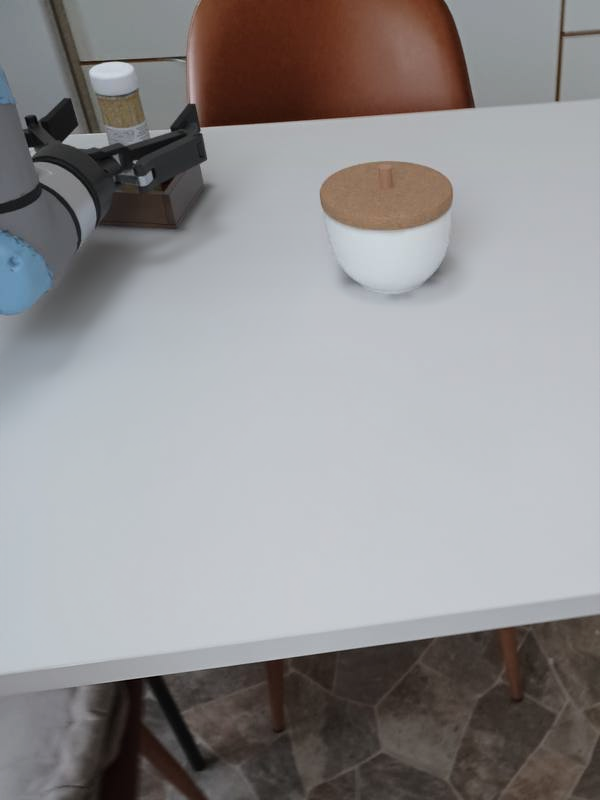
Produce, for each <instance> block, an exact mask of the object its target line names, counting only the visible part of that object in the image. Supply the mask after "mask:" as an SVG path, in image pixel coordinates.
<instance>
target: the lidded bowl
mask: <svg viewBox="0 0 600 800" xmlns="http://www.w3.org/2000/svg"><path fill="white" fill-rule="evenodd" d="M453 200H454V188H453V185H452V183H451V181H450V179H449V178H448V177H447V176H446V175H445V174H443V173H442V172H441V171H439V170H437V169H435V168H433V167H430V166H427V165H423V164H419V163H413V162H407V161H398V160H397V161H394V160H385V161H384V160H383V161H382V160H380V161H369V162H364V163H358V164H354V165H351V166H347V167H344V168H342V169H339V170H338V171H335V172H334V173H332V174H331V175H330V176H328V177H327V178H326V179H325V180H324V181H323V182H322V183H321V186H320V189H319V201H320V205H321V209H322V213H323V221H324V222H323V223H324V228H325V232H326V235H327V240H328V243H329V246H330V250H331V251H332V255H333V256H334V258H335V260H336V262H337V263H338V265H339V266H340V268H341V269H342V270H343V272H345V273H346V275H348V276H349V277H350V278H351V279H352V280H354V281H355V282H356V283H358V284H359V285H360V286H361V287H362V288H364V289H366V290H367V291H370V292H374V293H378V294H390V295H391V294H395V295H396V294H402V293H408V292H410V291H413V290H416V289H417V288H419V287H421V286H422V285H424V283H426V281H427V280H428V279H430V277H432V276H433V274H434V273H436V271H437V270H438V269H439V268H440V266H441V263H443V260H444V259H445V256H446V253H447V251H448V247H449V243H450V239H451V232H452V231H451V230H452V220H453V219H452V215H453V214H452V213H453V210H452V208H453V206H452V205H453Z"/></svg>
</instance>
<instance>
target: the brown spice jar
mask: <svg viewBox="0 0 600 800" xmlns="http://www.w3.org/2000/svg"><path fill="white" fill-rule="evenodd" d="M88 76H89V80H90V84H91V87H92V90H93V92H94V93H95V97H97V98H96V99H97V102H98V107H99V110H100V113H101V118H102V122H103V126H104V129H105V133H106V138H107V142H108V146H109V145H112V144H115V143H121V144H123V145H125V146H128V145H131V144H134V143H137V142H141V141H144V140H147V139H150V138H151V134H150V130H149V126H148V121H147V118H146V116H145V113H144V109H143V104H142V99H141V95H140V88H139V86H140V84H139V80H138V76H137V73H136V69H135V67H134V65H132V64H131V63H128V62H124V61H108V62H107V61H106V62H102V63H99V64H96V65H94V66H92V67H90V69H89V70H88ZM113 157H114V158H115V159H116V161H117V162H118V163H119V164H120V161H119V157H118V154H117V155H113ZM121 189H122V190H138V188H137V185H130V184H126V185H124V186H123V187H122V188H121ZM152 191H162V188H161V184H159V185H157V186H156V187H155V188H154V189H153V190H152Z"/></svg>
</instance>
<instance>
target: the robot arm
mask: <svg viewBox="0 0 600 800" xmlns="http://www.w3.org/2000/svg"><path fill="white" fill-rule="evenodd" d="M17 104H18V103H17V101H16V98H15V96H14V95H13V92H12V89H11V86H10V83H9V81H8V79H7V76H6V74H5V70H4V69H3V67H2V65H1V64H0V315H1V316H16V315H19V314H22V313H24V312H26V311H27V310H29V309H31V307H32V306H33V305H35V303H37V302H38V300H39V299H41V298H42V296H44V295H46V294H47V293H49V291H50V290H51V289H52V286H53V285H54V282H55V280H56V279H57V277H59V275H60V273H62V271H63V269H64V268H65V267H66V265H68V263H69V261H71V259H72V258H73V256H74V255H76V254H77V252H78V251H79V250H80V248H82V246H83V245H84V244H85V242H86V241H87V240H88V239H89V238H90V236H91V235H92V234H93V232H94V230H95V229H96V228H97V227H98V226H99V225H98V224H99V223H100V221H101V220H102V219H103V217H104V216H105V215H106V214H107V212H108V210H109V207H110V204H111V200H112V196H113V193H114V192H115V191H117V190H119V189H121V188H122V187H123V186H124V185H126V184H130V185H137V188H138V192H139V193H140V194H148V193H150V192H151V191H152V190H153V189H154V188H155V187H156V186H157V185H159V184H161V183H163V182H165V181H167V180H169V179H171V178H173V177H175V176H177V175H179V174H181V173H183V172H185V171H187V170H189V169H191V168H193V167H195V166H197V165H199V164H200V165H201V164H202V163H205V162H206V161H208V155H207V150H206V145H205V139H204V135H203V133H202V132H201V131H202V130H201V124H200V120H199V119H200V118H199V114H198V109H197V105H196V103H187V105H186V106H185V107H184V109H183V110H182V111H181V112H180V114H178V116H177V117H176V119H175V120H174V121H173V123H172V124H171V125H170V126H169V129H170V132H167V133H163V134H160V135H157V136H154V137H150V139H147V140H144V141H141V142H137V143H134V144H131V145H128V146H125V145H123V144H121V143H115V144H112V145H109V144H108V145H106V146H103V147H96V146H92V147H90V148H78V147H75V146H73V145H70V144H67V143H63V142H64V141H65V140H66V139H67V138H68V137H69V136H70V135H71V134H72V132H74V131H75V130H76V128H78V127H79V122H78V118H77V114H76V111H75V108H74V104H73V100H72V98H71V97H64V98H62V99H61V100H60V102H58V103H57V104H56V105H55V106H54V107H53V108H52V109H51V110H50V111H48V113H47V114H46V115H44V116H42V117H41V118H40V119H39V120H38V117H37V115H36V114H27V115H25V116H24V118H23V119H24V121H25V124H26V128H23V125H22V122H21V117H20V115H19V112H18V109H17ZM30 148H33V149H34V154H33V155H32V154H31V151H30ZM117 154H118V157H119V161H120V164H119V163H118V162H117V161H116V159H115V158H114V157H113V155H117Z"/></svg>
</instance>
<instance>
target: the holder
mask: <svg viewBox="0 0 600 800" xmlns="http://www.w3.org/2000/svg"><path fill="white" fill-rule="evenodd" d="M203 178H204V177H203V173H202V168H201V164H199V165H197V166H195V167H193V168H191V169H189V170H187V171H185V172H183V173H181V174H179V175H177V176H175V177H173V178H171V179H169V180H167V181H165V182H163V183H161V188H162V191H151V192H150V193H148V194H140V193H139V192H138V190H122V189H119V190H117V191H115V192H114V193H113V196H112V200H111V204H110V207H109V210H108V212H107V214H106V215H105V216H104V217H103V219H102V220H101V221H100V223H99V224H98V225H97V226H103V227H104V226H105V227H123V228H124V227H125V228H142V229H143V228H144V229H164V230H178V229H179V227H180V225H181V224H182V223H183V221H184V220H185V219H186V217H187V216H188V214H189V212H190V210H191V209H192V208H193V206H194V205H195V203H196V202H197V200H198V199H199V197H200V196H201V194H202V192H204V189H205V184H204V179H203Z"/></svg>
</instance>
